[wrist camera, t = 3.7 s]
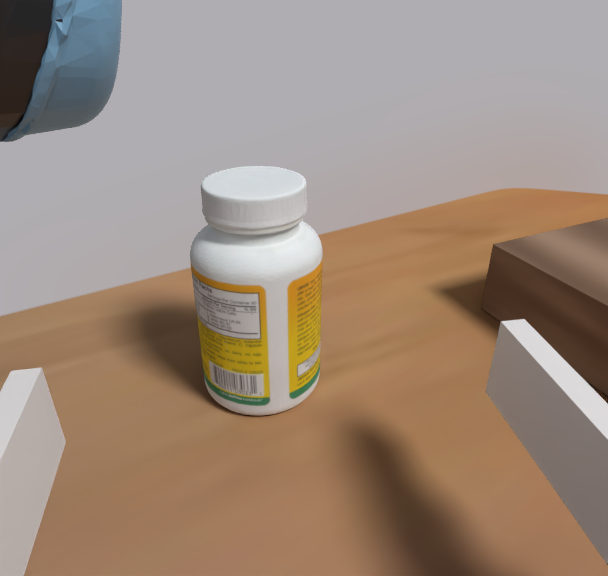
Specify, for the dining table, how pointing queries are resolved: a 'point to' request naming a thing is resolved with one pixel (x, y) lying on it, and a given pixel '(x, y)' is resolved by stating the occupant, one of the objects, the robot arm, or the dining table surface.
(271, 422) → the dining table surface
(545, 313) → the walnut riser
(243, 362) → the supplement bottle
